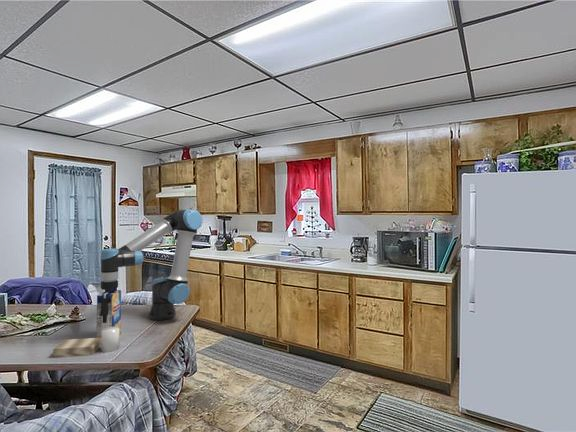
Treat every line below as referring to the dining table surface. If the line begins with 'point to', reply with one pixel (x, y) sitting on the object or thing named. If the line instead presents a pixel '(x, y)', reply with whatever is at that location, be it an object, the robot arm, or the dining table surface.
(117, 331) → the white rounded cylinder
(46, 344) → the dining table surface
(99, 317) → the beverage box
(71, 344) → the maple block
